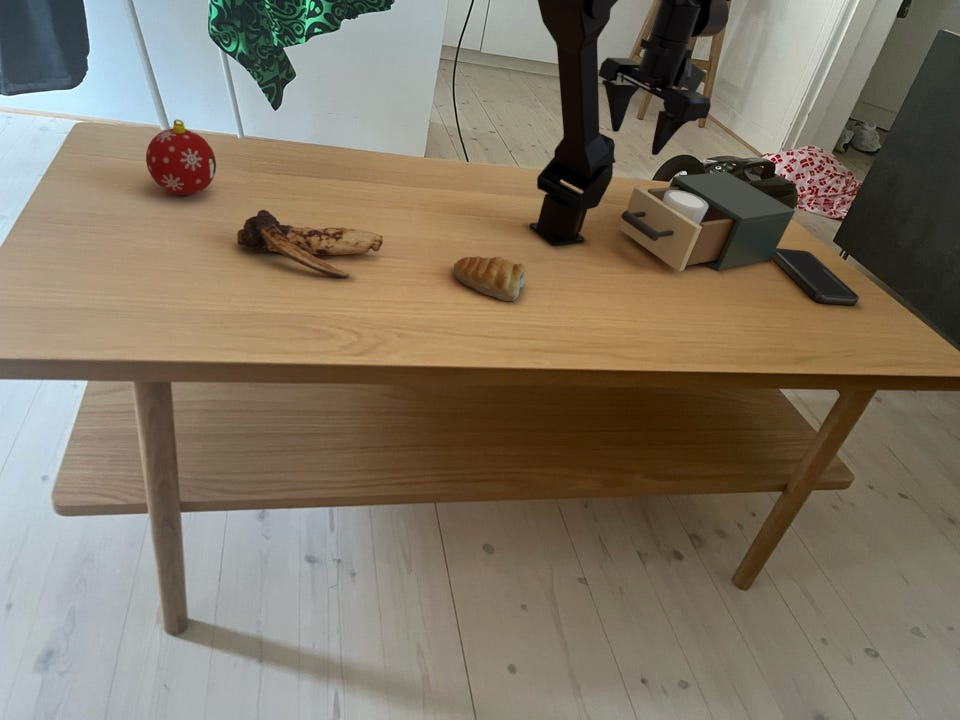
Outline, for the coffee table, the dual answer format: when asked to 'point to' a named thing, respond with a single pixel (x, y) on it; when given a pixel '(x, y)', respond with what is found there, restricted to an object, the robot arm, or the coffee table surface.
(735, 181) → the cabinet
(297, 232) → the bone fish hook
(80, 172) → the coffee table surface
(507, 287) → the pastry
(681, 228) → the drawer
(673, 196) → the white cylinder
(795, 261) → the phone
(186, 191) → the christmas ornament
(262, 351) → the coffee table surface
